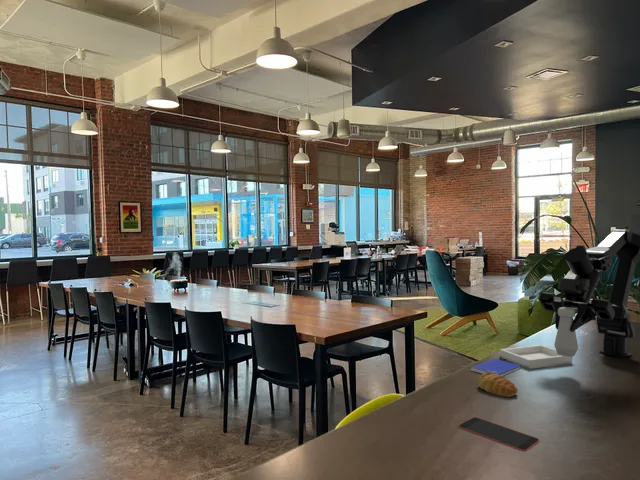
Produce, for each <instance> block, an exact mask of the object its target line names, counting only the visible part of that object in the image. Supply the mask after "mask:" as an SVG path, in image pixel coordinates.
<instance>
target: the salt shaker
mask: <svg viewBox="0 0 640 480" xmlns="http://www.w3.org/2000/svg"><path fill="white" fill-rule="evenodd" d="M576 314H577V313H576V309H573V308H570V307H561V308H559V309H558V315H559V316H560V321H559V326H558V329H557V330H556V331H557V332H556V334H555V335H556V336H555V338H554V339H555V340H554V349H555V350H556V351H557V353H558V354H559V355H561V356H568V357H571V356H573V357H575V355H576V354H577V352H578V350H579V345H578V340H577V339H578V338H577V333H576V330H575V331H573V332H571V331H570V327H571V324H572V322H573V320H574V318H575V316H576Z"/></svg>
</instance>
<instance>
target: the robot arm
mask: <svg viewBox="0 0 640 480" xmlns="http://www.w3.org/2000/svg"><path fill="white" fill-rule="evenodd" d="M586 248H587V247H585V245H578V244H577V245H576V246H575V247H574V248H572V249H570V250H568V251H567V252H565V254H564V260H565V261H566V263H567V264H566V265H568V268H569V269H570V271H571V273H572V274H573V275H575V277H574V278H566V277H560V278H559V283H558V287H557V290H560V291H561V292H562V294H561V295H562V297H563V298H562V297H559V296H557V295H556V294H555V293H553V292H541V293H540V294H539V295H538V297H537V299H538V301H539V303H540V304H541V307H542V308H543V310H545V311H548V312H554V313H555V320H554V321H555V329H556V330H558V326H559V321H560V316H559V315H558V309H559V308H561V307H570V308H573V309H574V310H577V313H576V314H575V317H573V322H572V324H571V327H570V331H571V332H573V331H575V332H576V330H578V329H580V328H581V327H582V326H584V325H585V324H587V323H589V322H591V321H596V326H597V331H598V332H597V333H598V334H603V344H602V349H601V350H598V351H599V353H602V354H606V355H609V356H612V357H615V358H625V357H631V356H633V354H632V353H631V352H628V350H629V349H628V348H629V347H628V345H629V344H628V343H629V339H630V338H631V339H634V338H635V333H636V329H635V327H634V325H633V323H632V320H631V314H630V312H629V309H628V307H627V304H628V300H629V296H630V292H631V288H632V282H633V278H634V274H635V269H636V265H637V264H638V263H639V262H640V234H638V233H635V232H633V231H631V230H630V229H628V228H627V229H622V228H619V229H618V228H615V229H612V230H611V231H610V234H608V235H607V236H606V237H605V239H604V240H602V241H601V242H600V243H599V244H598V245H597V246H593V247H590V248H587V249H586ZM615 255H616V256H617V258H618V263H617V266H616V270H615V274H614V279H613V283H612V288H611V292H610V296H609V300H608V299H602V298H595V293H594V292H595V290H596V287H597V285H601V284H602V279H601V274H600V272H607V271H608V270H609V269H610V268H611V267H612V264H613V257H614V256H615ZM599 271H600V272H599ZM591 299H592V300H591ZM590 301H591V303H590ZM597 314H598V315H597ZM596 316H597V317H596Z"/></svg>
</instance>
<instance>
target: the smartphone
mask: <svg viewBox="0 0 640 480" xmlns="http://www.w3.org/2000/svg"><path fill="white" fill-rule="evenodd" d="M457 427H458V428H459V429H462V430H464V431H467V432H470V433H472V434H474V435H477V436H480V437H482V438H486V439H488V440H490V441H493V442H497V443H498V444H502V445H505V446H507V447H509V446H510V448H512V447H513V448H512V449H516V450H518V451H520V450H521V452H527V450H528V449H529V450H531V449H532V448H533V447H535V446H536V445H537V444H539V443H540V442H541V441H540V439H539V438H538V437H535V436H533V435H529V434H526V433H523V432H520V431H518V430H514V429H511V428H508V427H506V426H503V425H500V424H497V423H494V422H491V421H489V420H485V419H482V418H479V417H471V418H469V419H467V420H465V421H463V422H461V423H460V424H458V426H457ZM529 450H528V451H529Z"/></svg>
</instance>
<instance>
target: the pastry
mask: <svg viewBox="0 0 640 480" xmlns="http://www.w3.org/2000/svg"><path fill="white" fill-rule="evenodd" d="M477 385H478V386H479V387H480V389H481V390H484V391H485V392H486V393H490V394H493V395H497V396H500V397H508V398H510V397H513V396H517V393H518V388H517V387H516V385H515V384H514V383H512V381H510V380H509V379H507V378H506V377H505V376H500V375H498V374H493V373H490V372H485V373H483V374H481V375H480V376H479V378H478V380H477Z"/></svg>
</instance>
